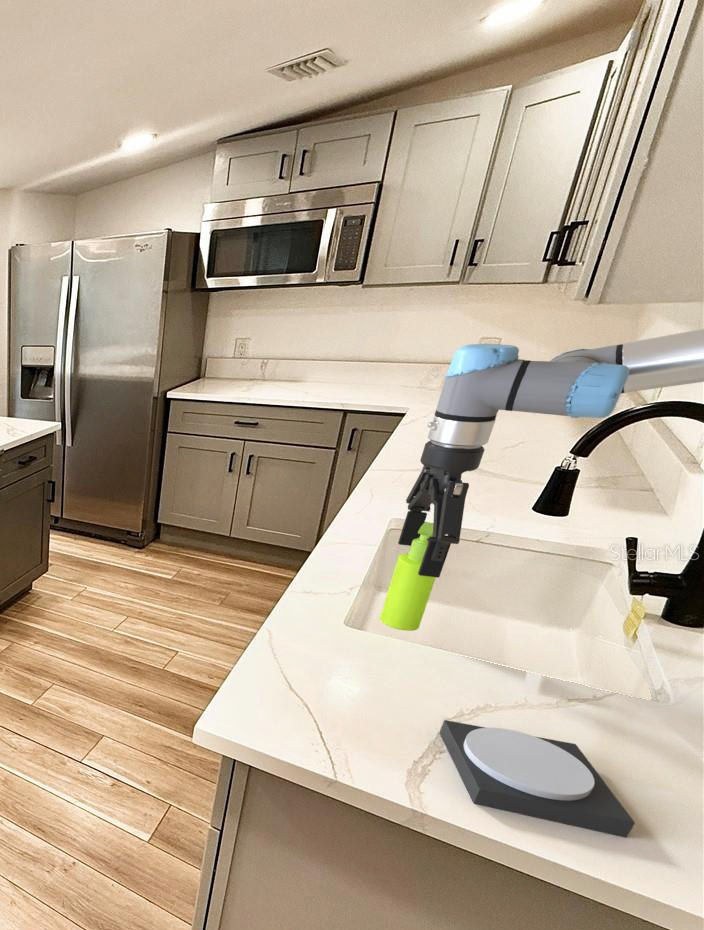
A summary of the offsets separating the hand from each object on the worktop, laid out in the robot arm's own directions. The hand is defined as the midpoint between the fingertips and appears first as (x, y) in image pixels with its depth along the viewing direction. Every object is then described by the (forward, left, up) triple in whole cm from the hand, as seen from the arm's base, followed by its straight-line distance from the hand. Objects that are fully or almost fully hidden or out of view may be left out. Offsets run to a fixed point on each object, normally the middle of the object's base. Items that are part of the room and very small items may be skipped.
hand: (417, 559), depth 109 cm
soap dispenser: (0, 0, -14) cm, 14 cm away
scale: (-5, +40, -13) cm, 43 cm away
